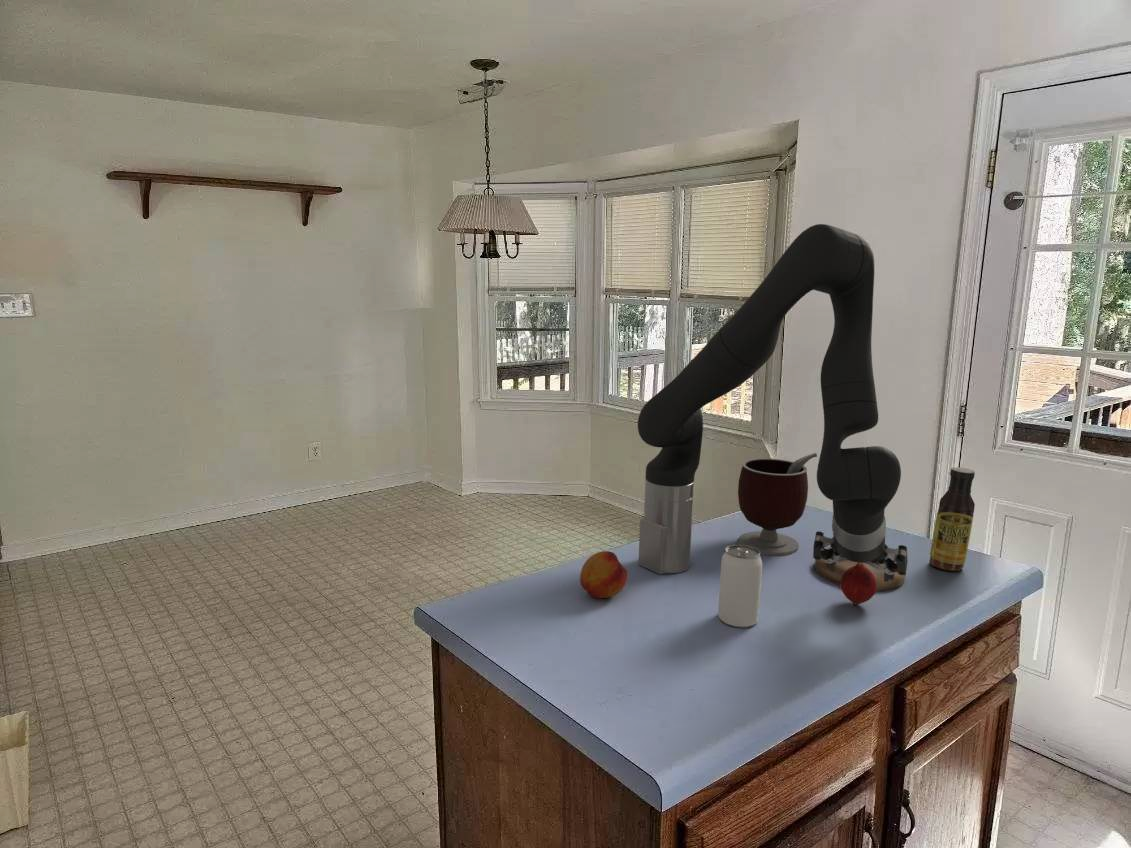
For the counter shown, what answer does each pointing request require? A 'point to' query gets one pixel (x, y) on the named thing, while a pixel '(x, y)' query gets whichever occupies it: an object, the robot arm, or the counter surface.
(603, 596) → the fruit
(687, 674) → the counter surface
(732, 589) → the can
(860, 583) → the onion
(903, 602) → the counter surface
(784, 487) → the mate gourd
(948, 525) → the sauce bottle
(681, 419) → the robot arm
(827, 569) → the walnut board
